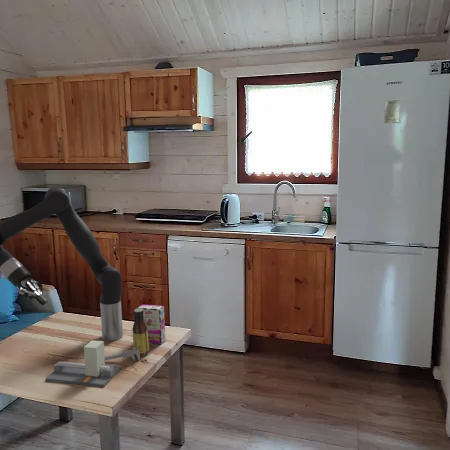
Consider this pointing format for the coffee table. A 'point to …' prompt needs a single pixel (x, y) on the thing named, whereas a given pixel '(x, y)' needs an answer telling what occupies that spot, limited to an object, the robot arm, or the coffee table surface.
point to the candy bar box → (154, 323)
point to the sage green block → (94, 357)
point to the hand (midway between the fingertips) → (45, 303)
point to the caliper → (125, 354)
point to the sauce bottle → (140, 333)
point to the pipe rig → (81, 374)
